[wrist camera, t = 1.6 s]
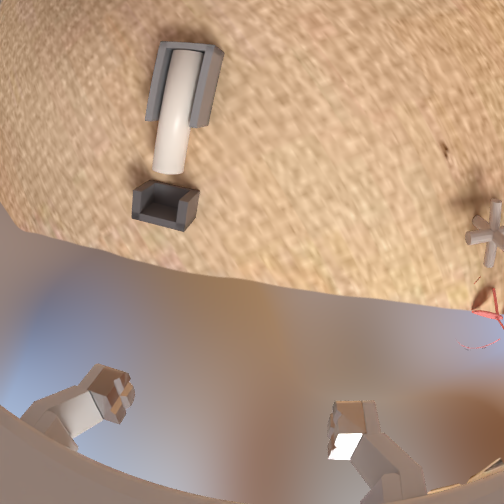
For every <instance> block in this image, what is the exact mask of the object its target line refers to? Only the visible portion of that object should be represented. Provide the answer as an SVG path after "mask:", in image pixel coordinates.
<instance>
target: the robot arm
mask: <svg viewBox="0 0 504 504" xmlns="http://www.w3.org/2000/svg"><path fill="white" fill-rule="evenodd" d="M130 379H131V378H130V376H129V374H128V373H126V372H123V371H120V370H117V369H114V368H110V367H107V366H104V365H101V364H96V365H94V367H93V368H92V369H91V370H90V372H89V373H88V374H87V375H86V376H85V377H84V379H83V380H82V381H81V382H80V384H79V385H78V386H72V387H70V388H67V389H65V390H62V391H60V392H58V393H55V394H52V395H50V396H48V397H45V398H42V399H40V400H37V401H34V402H33V404H32V405H31V406H30V407H29V408H28V410H27V411H26V412H25V413H24V414H23V416H22V417H21V418H20V419H19V418H18V417H16V416H15V415H13V414H12V413H11V412H9V411H8V410H6V409H5V408H4V407H2V406H1V405H0V504H247V503H239V502H233V501H227V500H221V499H216V498H210V497H206V496H201V495H196V494H192V493H187V492H183V491H180V490H176V489H172V488H168V487H165V486H162V485H159V484H155V483H152V482H149V481H146V480H143V479H140V478H137V477H134V476H132V475H128V474H126V473H124V472H121V471H118V470H116V469H113V468H111V467H108V466H106V465H104V464H101V463H99V462H97V461H95V460H92V459H90V458H88V457H86V456H84V455H82V454H80V453H78V452H77V450H78V446H77V444H76V443H75V442H74V440H73V438H75V437H76V436H78V435H80V434H81V433H83V432H85V431H86V430H88V429H90V428H91V427H93V426H94V425H96V424H98V423H99V422H101V421H102V420H103V419H105V420H108V421H111V422H114V423H117V424H120V423H121V422H122V420H123V418H124V417H125V415H126V410H125V409H126V408H128V407H130V406H131V405H132V403H133V401H134V396H135V391H134V387H133V386H132V385H131V384H130V383H129V381H130ZM327 435H328V437H329V439H330V441H329V443H328V459H350V461H351V463H352V464H353V466H354V467H355V468H356V470H357V471H358V472H359V474H360V475H361V476H362V478H363V479H364V480H365V482H366V483H367V484H368V486H369V487H370V488H371V490H370V492H368V494H367V495H366V496H365V497H364V498H363V499H362V500H361V501H360V502H361V504H504V471H501V472H497V473H495V474H492V475H490V476H487V477H485V478H482V479H479V480H476V481H474V482H471V483H468V484H465V485H461V486H458V487H455V488H452V489H448V490H444V491H441V492H437V493H433V494H429V495H427V489H426V484H425V479H424V475H423V470H422V467H421V466H420V465H419V464H417V463H416V462H415V461H414V460H413V459H412V458H411V457H409V455H408V454H406V453H405V452H404V451H403V450H402V449H401V448H400V447H399V446H398V445H397V444H396V443H395V442H394V441H393V440H392V439H391V438H390V437H389V436H387V435H386V434H385V433H381V429H380V424H379V419H378V414H377V409H376V404H375V402H374V400H370V401H335V402H334V404H333V413H331V414H330V417H329V421H328V429H327Z"/></svg>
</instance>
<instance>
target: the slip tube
mask: <svg viewBox="0 0 504 504" xmlns="http://www.w3.org/2000/svg"><path fill="white" fill-rule="evenodd" d="M203 59H204V53H201V52H196V51H190V50H173V53H172V57H171V61H170V66H169V70H168V75H167V80H166V84H165V89H164V95H163V100H162V105H161V111H160V117H159V123H158V129H157V136H156V143H155V150H154V157H153V166H152V170H154V171H156V172H158V173H163V174H180V173H183V171H184V164H185V158H186V152H187V146H188V140H189V135H190V129H191V127H189V124H190V119H191V114H192V109H193V104H194V99H195V94H196V89H197V85H198V80H199V76H200V71H201V67H202V63H203Z"/></svg>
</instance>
